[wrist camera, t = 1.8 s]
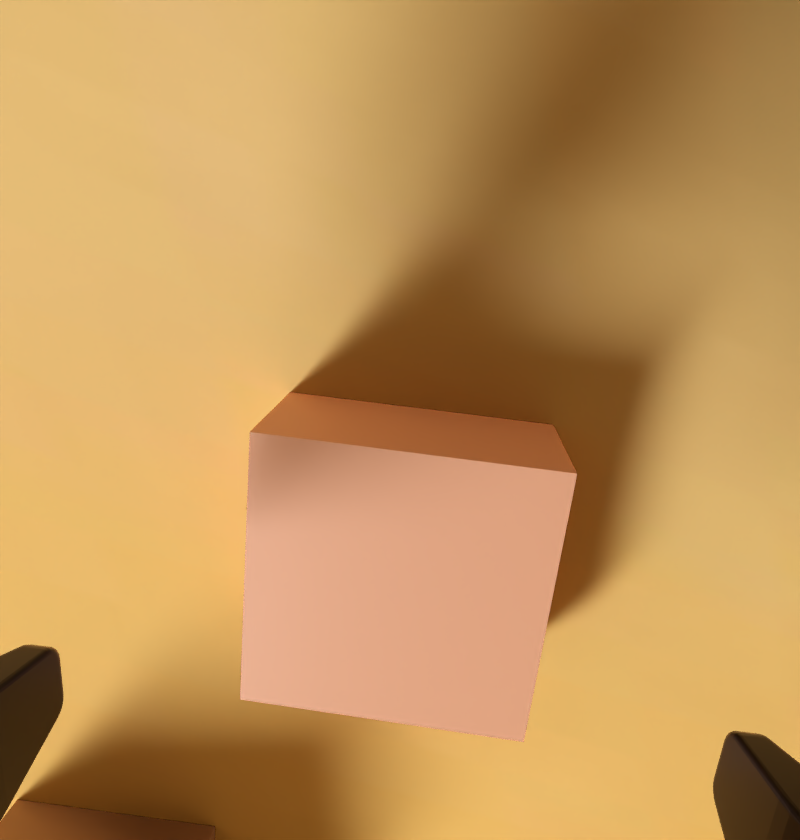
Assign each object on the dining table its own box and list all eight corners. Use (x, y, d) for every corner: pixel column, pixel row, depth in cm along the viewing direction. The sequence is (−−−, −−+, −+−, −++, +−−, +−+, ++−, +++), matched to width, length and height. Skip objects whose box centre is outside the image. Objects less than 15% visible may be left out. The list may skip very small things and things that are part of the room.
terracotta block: (551, 420, 13) (576, 473, 11) (510, 643, 15) (523, 741, 12) (293, 389, 14) (250, 431, 11) (280, 611, 15) (240, 699, 12)
